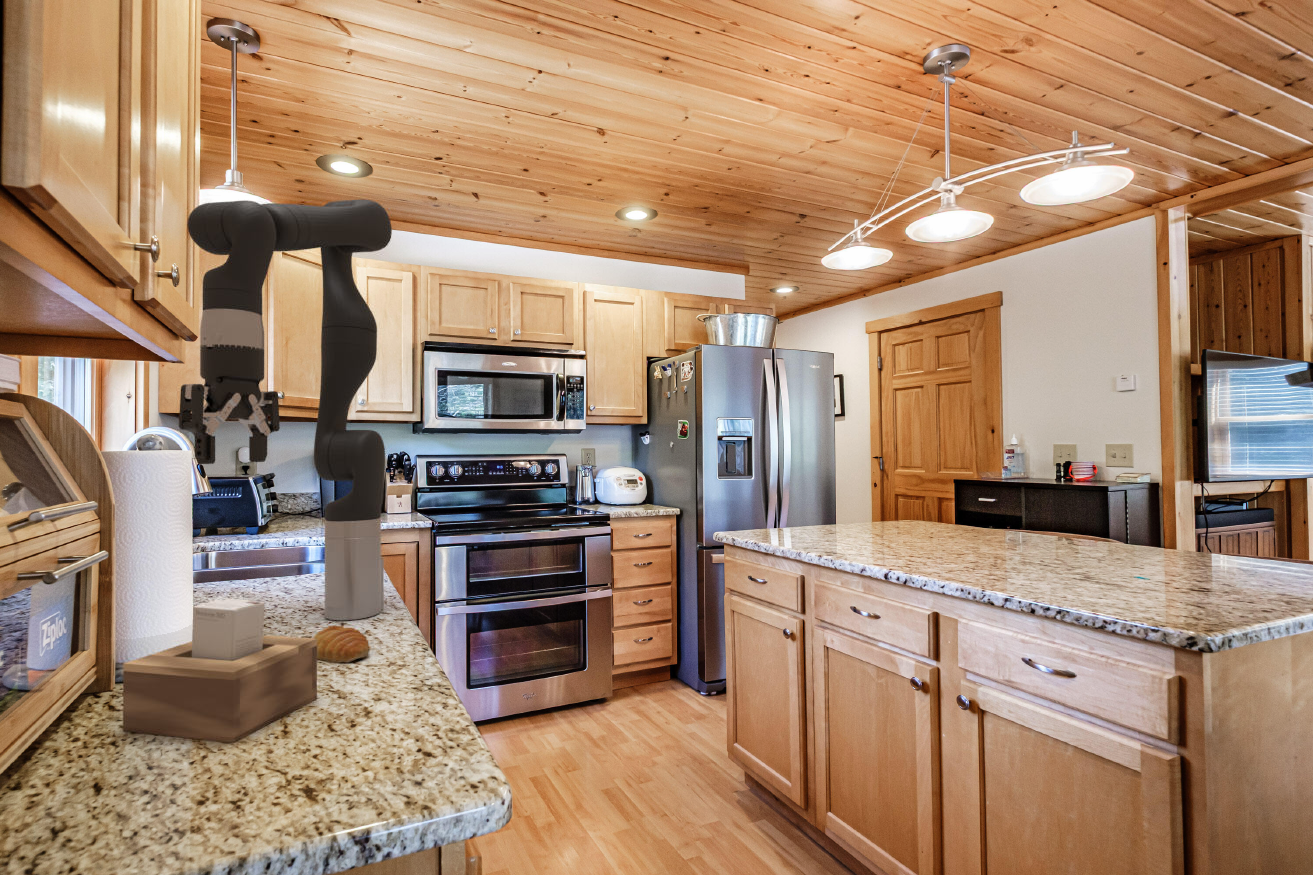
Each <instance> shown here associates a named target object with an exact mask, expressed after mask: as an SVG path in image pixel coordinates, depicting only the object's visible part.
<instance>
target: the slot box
mask: <svg viewBox="0 0 1313 875" xmlns="http://www.w3.org/2000/svg"><path fill="white" fill-rule="evenodd" d="M122 665H123V666H122V667H123V669H122V670H123V672H122V678H123V680H122V682H123V683H122V696H123V697H122V706H123V707H122V731H123V732H125V733H126V732H128V733H129V732H130V733H136V734H137V733H139V734H147V735H155V736H167V737H176V738H183V739H186V738H187V739H192V740H194V739H195V740H203V741H211V742H212V741H213V742H223V743H231V744H234V743H236V742H238V741H240V740H242V739H243V738H245V737H247V736H249V735H251V734H253V733H255V732H257V731H258V730H259V731H260V729H262V728H264V727H267V726H268V725H270V724H272V723H274V722H276V721H278V720H279V719H282V718H283V717H285V716H287V715H289V714H292V713H293V712H295V711H297V710H298V709H301V708H303V707H305V706H306V705H308V704H310V703H312V702H315V700H318V659H317V639H314V637H313V638H312V637H295V636H280V635H266V634H265V635H264V634H263V650H261V651H258V652H256V653H253V654H251V655H248V656H245V657H243V658H240V659H237V660H235V661H226V660H213V659H199V658H192V640H191V641H188V642H186V643H182V644H179V645H176V646H172V647H169V648H167V649H164V650H160V651H158V652H154V653H151V654H149V655H146V656H143V657H139V658H136V659H133V660H129V661H126V662H124V663H122Z"/></svg>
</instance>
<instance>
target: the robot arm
mask: <svg viewBox="0 0 1313 875" xmlns="http://www.w3.org/2000/svg"><path fill="white" fill-rule="evenodd" d="M186 225H187V230H188V234H189V236H190V238H191V239H192V241H193V243H194V244H195V245H196V246H198V247H199V248H200V249H202V250H203V251H205V252H207V253H209V254H212V255H217V256H228V257H227V259H226V261H225V262H224V263H223V264H222V265H220V266H216V267H214V268H212V269H209V270H207V272H205V273H204V275H203V279H202V313H201V314H202V315H201V319H200V320H201V321H200V329H199V331H200V332H199V333H200V334H199V335H200V336H199V337H200V338H199V339H200V340H199V343H200V345H199V351H200V353H199V354H200V355H199V366H200V367H199V375H200V377H201V379H203V380H204V384H202V383H189V384H187V383H185V384H182V385H181V387H180V396H179V399H180V400H179V402H180V403H179V415H178V417H179V418H178V427H179V429H180V430H181V431H187V432H190V433H191V434H192V435H193V436H194V458H195V460H196V462H197V464H199V465H213V464H215V463H216V435H214V434H215V432H216V430H217V429H218V427H219V426H220V424H222V423H224V422H225V421H226V420H227V419H228V420H229V419H230V420H238V421H239V423H240V424H242V425H244V426H245V428H246V430H247V431H248V433H249V434H250V436H249V438H248V442H249V443H248V447H249V449H248V454H249V458H248V460H249V461H250V463H264V462H265V461H266V459H267V457H268V437H269V436H270V435H271V434H273V433H274V432H279V431H280V426H281V425H280V424H281V423H280V408H279V404H280V403H279V393H278V392H277V391H276V390H270V391H269V390H268V391H264V390H263V391H261V388H260V383H261V382H262V381H263V380H265V327H264V321H263V286H264V283H265V280H266V277H267V274H268V271H269V269H270V268H269V267H270V265H271V262H272V259H273V254H274V252H279V253H280V252H292V251H293V252H295V251H304V250H311V249H320V258H321V271H322V273H321V274H322V317H321V336H320V337H321V338H320V349H321V350H320V354H321V355H320V360H321V361H320V363H321V365H320V388H319V389H320V391H319V392H320V393H319V401H318V402H319V403H318V412H317V419H316V420H317V421H316V428H315V435H314V442H313V443H314V446H313V460H314V467H315V470H316V472H317V475H318V476H319V477H320V478H321V479H323V480H324V481H332V482H335V481H336V482H345V481H346V482H348V481H349V482H351V481H352V487H351V491H350V492H349V493H348V494H346V495H345V496H343V497H341V498H339V499H336V500H333V501H331V502H328V503H327V504H326V505H325V507H324V618H326V619H327V620H330V621H352V620H359V619H366V618H370V617H374V616H376V615H378V614H381V612H382V609H384V606H385V605H384V602H385V600H384V594H385V593H384V588H385V587H384V581H385V580H384V576H385V575H384V573H385V572H384V561H385V560H384V558H383V556H382V531H381V530H382V527H381V525H382V518H381V517H382V515H381V514H382V506H383V500H384V491H385V490H384V486H385V485H384V484H385V468H386V451H385V450H386V448H385V444H384V441H383V438H382V436H381V435H380V433H379V432H378V431H375V430H372V429H347V425H348V424H347V423H348V416H349V410H350V407H351V405H352V401H353V399H354V397H355V396H356V394H357V392H358V391H359V390H360V388H361V387H362V385H363V384H364V382H365V381H366V379H367V377H368V376H369V374H370V373H371V371H372V369H373V368H374V366H375V363H376V360H377V352H378V350H377V349H378V348H377V346H378V325H377V322H376V319H375V316H374V314H373V312H372V310H371V309H370V306H369V305H368V304H367V302H366V301H365V299H364V297H363V296H362V294H361V292H360V291H359V289H358V287H357V285H356V283H355V280H354V274H353V267H352V265H353V264H352V262H353V261H352V260H353V258H352V257H353V253H355V254H356V253H371V252H372V253H373V252H378V251H380V250H383V249H385V248H386V247H387V246H388V245H389V243H390V242H391V239H392V234H393V233H392V232H393V230H392V224H391V220H390V216H389V213H388V212H387V210H386V209H385V207H383V205H381V204H380V203H379V202H377V201H374V200H370V199H349V200H333V201H329V202H327V203H326V204H324V205H323V206H322V205H308V204H295V203H275V202H270V203H259V202H256V201H253V200H234V201H217V202H216V201H214V202H206V203H202V204H200V205H198V206H196V207H195V208H194V209H193V210H192V211H191V212H190V214H189V216H188V219H187V224H186ZM205 402H206V403H205ZM204 403H205V404H204ZM269 417H270V422H269Z"/></svg>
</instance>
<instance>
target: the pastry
mask: <svg viewBox="0 0 1313 875" xmlns="http://www.w3.org/2000/svg"><path fill="white" fill-rule="evenodd" d="M313 638H314V639H317V660H320V661H325V662H330V663H336V664H340V663H350V662H353V661H355V660H357V659H361V658H366V657H367V656H368V654H369V652H370V650H371V648H370V646H369V641H368V640H367V638H366V636H365V635H364V634H362V633H361V631H360V630H359V629H355V628H354V627H344V626H341V625H329V626H326V627H325V628H323V629H322V630H320V631H319V630H318V632H317V633H316V634H315V636H313Z"/></svg>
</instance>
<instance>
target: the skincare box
mask: <svg viewBox="0 0 1313 875" xmlns="http://www.w3.org/2000/svg"><path fill="white" fill-rule="evenodd" d="M192 614H193V616H192V618H193V619H192V635H191V636H192V637H191V638H192V639H191V641H192V658H199V659H213V660H226V661H235V660H237V659H240V658H243V657H245V656H248V655H251V654H253V653H256V652H258V651H261V650H263V635H264V622H265V620H264V619H265V603H264V602H263V601H255V600H249V599H237V598H227V597H226V598H219V599H215V600H212V601H207V602H204V603H200V604H198V605H197V604H196V605H194V606H193V612H192Z"/></svg>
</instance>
